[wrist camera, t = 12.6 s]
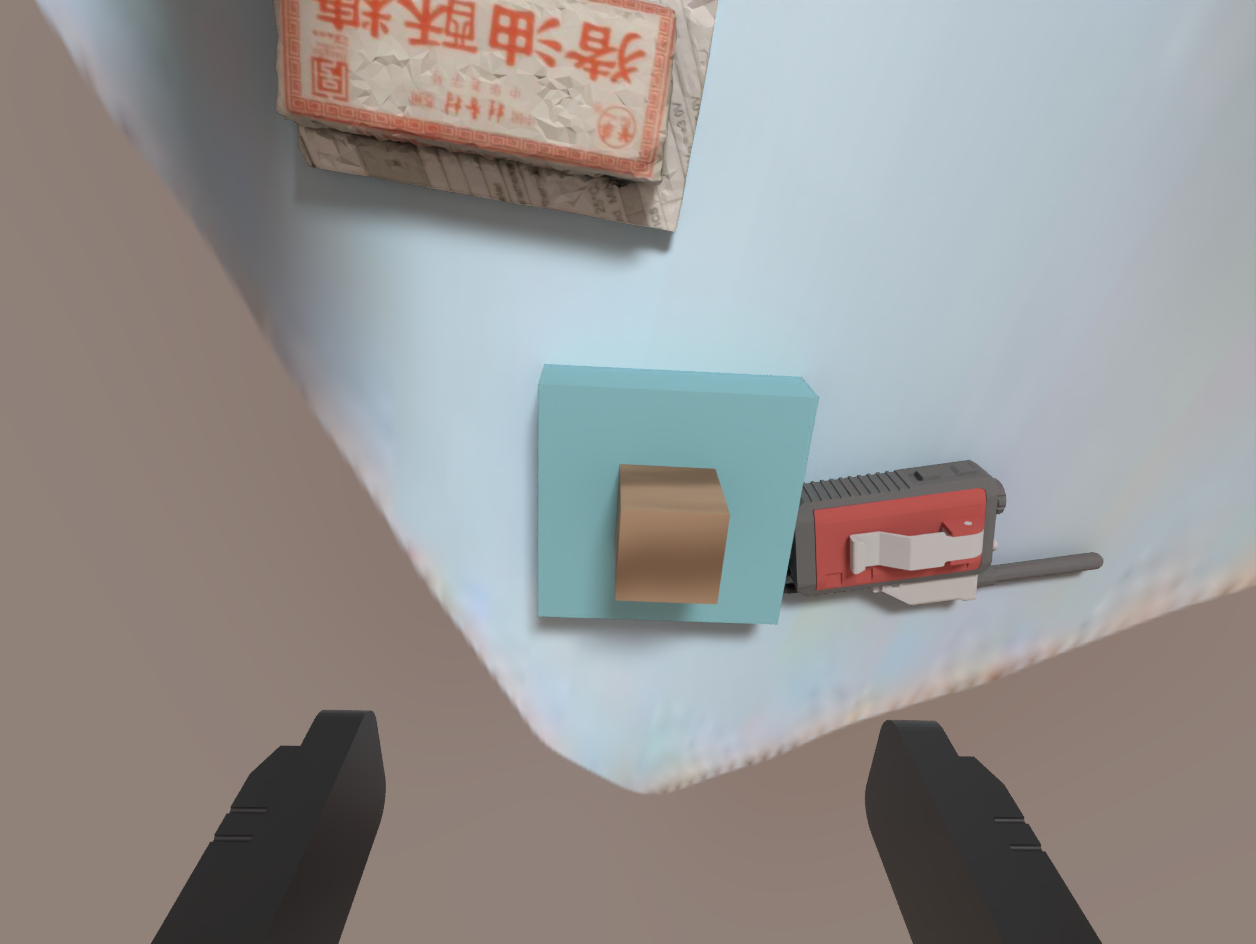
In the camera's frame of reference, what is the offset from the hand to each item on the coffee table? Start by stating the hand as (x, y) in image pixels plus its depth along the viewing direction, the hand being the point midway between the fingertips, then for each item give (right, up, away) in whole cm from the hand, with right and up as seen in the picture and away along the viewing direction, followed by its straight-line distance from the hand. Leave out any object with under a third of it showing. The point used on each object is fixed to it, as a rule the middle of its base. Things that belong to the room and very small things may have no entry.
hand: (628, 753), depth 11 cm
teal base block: (+2, +4, +30) cm, 30 cm away
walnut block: (+2, +2, +26) cm, 26 cm away
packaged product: (-6, +22, +21) cm, 31 cm away
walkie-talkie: (+18, +1, +31) cm, 36 cm away
